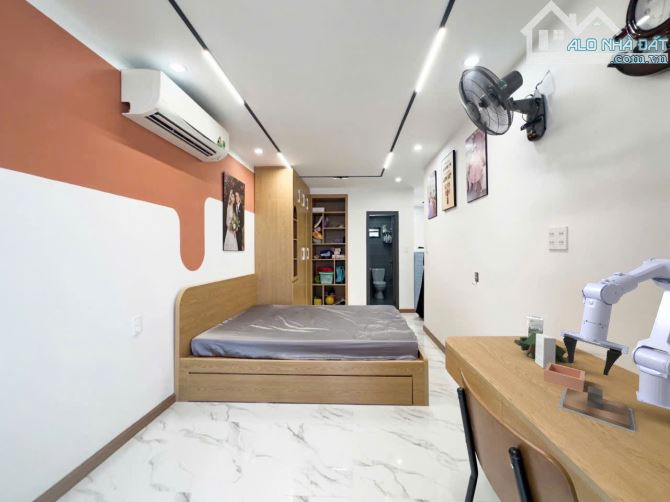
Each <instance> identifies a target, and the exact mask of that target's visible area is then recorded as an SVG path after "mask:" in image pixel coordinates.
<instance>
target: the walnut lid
mask: <svg viewBox="0 0 670 502" xmlns="http://www.w3.org/2000/svg"><path fill="white" fill-rule="evenodd" d="M587 387H588V388H587V393H585V392H582V391H578V390H575V389H571V388H568V387H566V388H567V389H566V390H567V391H566V394H565V398H564V401H563V407H564V408H567V409H570V410H573V411H576V412H579V413H582V414H585V415H588V416H591V417H594V418H597V419H600V420H603V421H606V422H609V423H612V424H615V425H618V426H621V427H624V428H627V429H630V423H629V416H628V408H629V407H628V405H626V404H624V403H623V404H622V403H621V402H616V401H612V400H610V399H606V398H603V395H604V394H603V393H604V389H601V388H599V387H595V386H591V385H588V386H587Z"/></svg>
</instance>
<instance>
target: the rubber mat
mask: <svg viewBox="0 0 670 502" xmlns="http://www.w3.org/2000/svg"><path fill="white" fill-rule="evenodd" d="M566 391H567V389H565V388H564V389H563V390H562V392H561V396H560V397H559V398H560V399H559V402H558V404H557V408H559V409H562V410H566V411H569V412H572V413H573V414H576V415H580V416H583V417H585V418H589V419H592V420H594V421H597V422H601V423H604V424H606V425H609V426H613V427H616V428H619V429H622V430H624V431H628V432H631V433H633V434H636V433H637V432H636V425H635V419H634V413H633V409H632V408H629V407H627V408H628V416H629V423H630V429H627V428H624V427H621V426H618V425H615V424H612V423H609V422H606V421H603V420H600V419H597V418H594V417H591V416H588V415H585V414H582V413H579V412H576V411H573V410H570V409H567V408H564V407H563V401H564V398H565V394H566Z"/></svg>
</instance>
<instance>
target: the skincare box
mask: <svg viewBox="0 0 670 502" xmlns="http://www.w3.org/2000/svg"><path fill="white" fill-rule="evenodd" d="M556 343H557V342H556V338H555V337H553V336H551V335H549V334H545V333H543V334H537V333H536V353H535V358H534V359H535V360H534V361H535V363H536V365H538V366H539V367H541V368H543V369H545V368H546V366H547V364H548V362H550V363H554V364H556V358H555V347H556V345H557V344H556Z"/></svg>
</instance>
